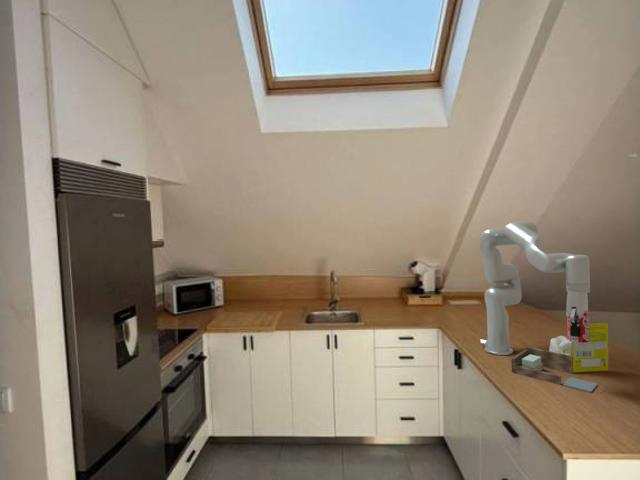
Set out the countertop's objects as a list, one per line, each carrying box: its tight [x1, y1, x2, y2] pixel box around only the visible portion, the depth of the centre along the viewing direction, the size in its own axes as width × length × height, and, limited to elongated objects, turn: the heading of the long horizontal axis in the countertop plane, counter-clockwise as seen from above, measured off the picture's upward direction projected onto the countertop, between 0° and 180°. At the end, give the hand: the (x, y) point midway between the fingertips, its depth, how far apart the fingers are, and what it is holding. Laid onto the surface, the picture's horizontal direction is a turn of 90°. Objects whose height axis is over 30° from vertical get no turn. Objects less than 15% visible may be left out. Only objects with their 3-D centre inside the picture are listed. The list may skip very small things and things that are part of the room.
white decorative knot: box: [548, 335, 572, 356], centre depth 174 cm, size 11×12×9 cm
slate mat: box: [562, 376, 598, 394], centre depth 145 cm, size 9×9×1 cm
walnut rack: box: [511, 346, 574, 385], centre depth 159 cm, size 18×16×7 cm
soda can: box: [566, 311, 591, 344], centre depth 145 cm, size 7×7×12 cm
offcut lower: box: [521, 363, 544, 371], centre depth 161 cm, size 5×9×3 cm, turn 130°
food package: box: [572, 322, 609, 373], centre depth 157 cm, size 15×1×20 cm, turn 92°
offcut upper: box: [522, 354, 541, 369], centre depth 161 cm, size 4×8×3 cm, turn 129°
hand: (578, 333), depth 145 cm, fingers closed on soda can, 6 cm apart
